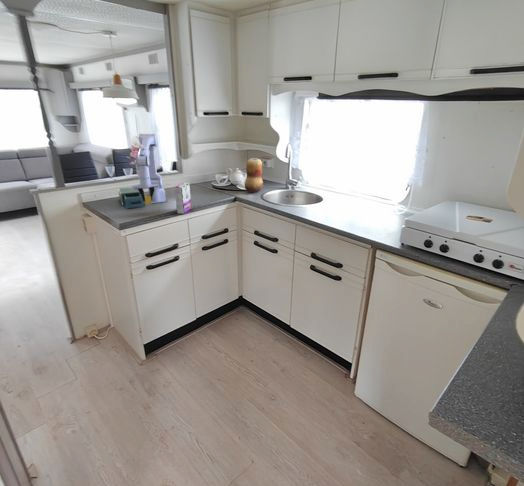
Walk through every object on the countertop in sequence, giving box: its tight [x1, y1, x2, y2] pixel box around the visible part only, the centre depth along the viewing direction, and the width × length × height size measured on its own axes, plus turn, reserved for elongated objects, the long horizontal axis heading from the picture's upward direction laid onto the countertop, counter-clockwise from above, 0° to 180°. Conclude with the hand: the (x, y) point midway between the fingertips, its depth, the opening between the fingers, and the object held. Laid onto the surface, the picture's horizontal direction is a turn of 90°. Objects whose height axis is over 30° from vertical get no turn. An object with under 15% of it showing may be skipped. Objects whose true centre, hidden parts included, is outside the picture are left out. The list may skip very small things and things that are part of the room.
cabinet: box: [117, 186, 140, 207], centre depth 214 cm, size 15×13×8 cm
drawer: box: [123, 193, 146, 209], centre depth 204 cm, size 18×11×6 cm, turn 29°
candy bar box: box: [174, 182, 193, 215], centre depth 195 cm, size 11×5×16 cm, turn 168°
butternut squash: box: [244, 157, 264, 194], centre depth 239 cm, size 14×13×25 cm
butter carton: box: [144, 193, 153, 205], centre depth 189 cm, size 5×3×4 cm
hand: (147, 200), depth 189 cm, fingers closed on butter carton, 3 cm apart
